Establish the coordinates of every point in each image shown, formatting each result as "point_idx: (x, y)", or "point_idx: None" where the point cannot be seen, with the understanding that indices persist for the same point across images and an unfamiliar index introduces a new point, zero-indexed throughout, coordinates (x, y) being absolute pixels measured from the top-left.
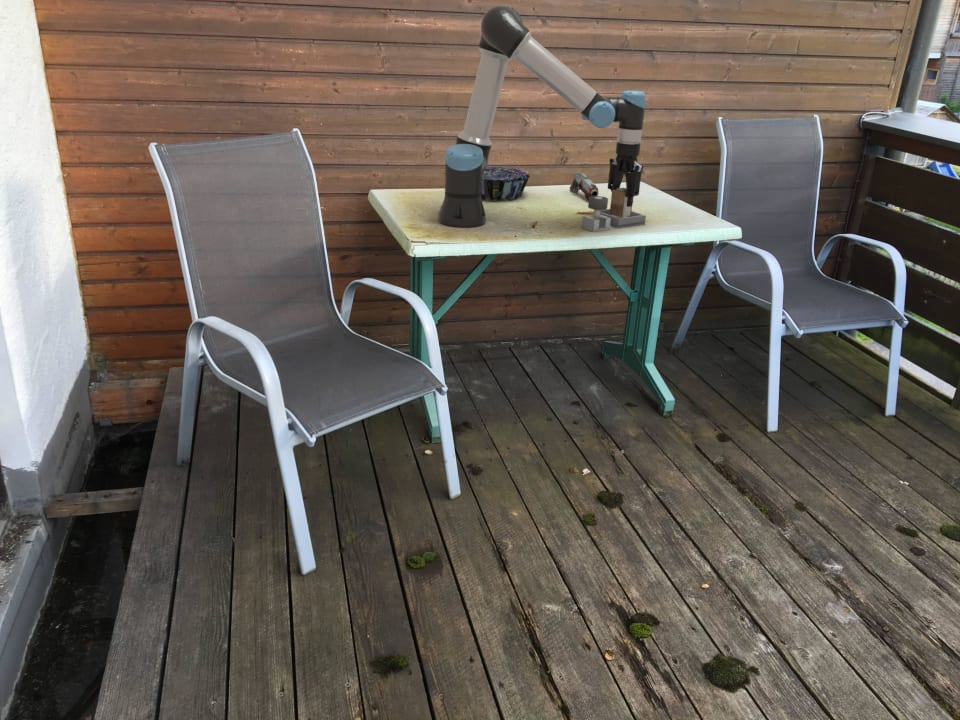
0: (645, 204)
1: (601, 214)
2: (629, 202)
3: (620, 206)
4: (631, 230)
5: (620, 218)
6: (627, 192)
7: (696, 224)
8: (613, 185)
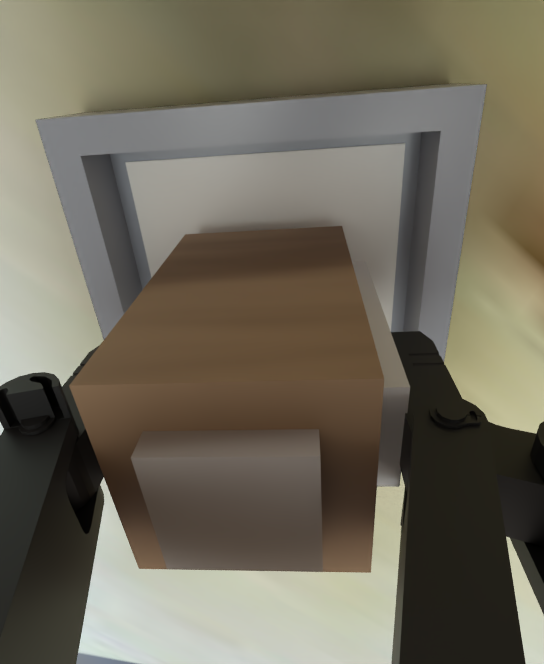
0: (525, 633)
1: (342, 95)
2: (76, 375)
3: (162, 277)
4: (10, 197)
5: (70, 165)
6: (37, 454)
7: (104, 590)
8: (460, 495)
